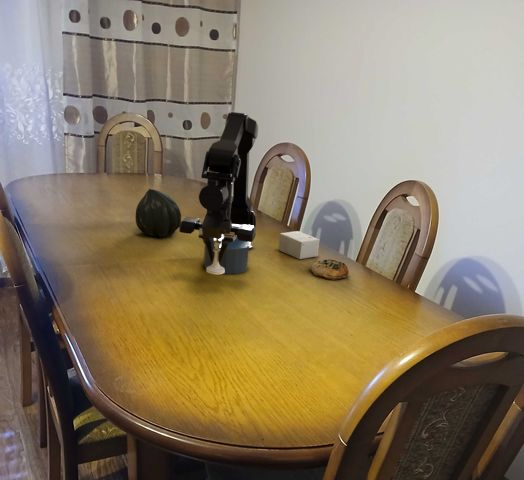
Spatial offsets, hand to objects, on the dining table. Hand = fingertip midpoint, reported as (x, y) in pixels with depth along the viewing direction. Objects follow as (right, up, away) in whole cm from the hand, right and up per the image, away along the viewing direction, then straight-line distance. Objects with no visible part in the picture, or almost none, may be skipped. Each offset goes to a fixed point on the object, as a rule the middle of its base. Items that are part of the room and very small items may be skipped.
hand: (216, 261), depth 146 cm
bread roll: (+31, -1, +18) cm, 36 cm away
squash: (-22, +15, +37) cm, 46 cm away
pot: (+1, +1, +15) cm, 15 cm away
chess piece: (0, -3, +1) cm, 3 cm away
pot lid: (+2, +7, +12) cm, 14 cm away
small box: (+20, +13, +36) cm, 43 cm away
